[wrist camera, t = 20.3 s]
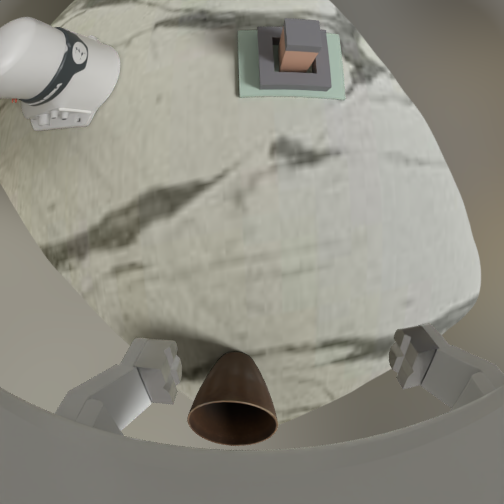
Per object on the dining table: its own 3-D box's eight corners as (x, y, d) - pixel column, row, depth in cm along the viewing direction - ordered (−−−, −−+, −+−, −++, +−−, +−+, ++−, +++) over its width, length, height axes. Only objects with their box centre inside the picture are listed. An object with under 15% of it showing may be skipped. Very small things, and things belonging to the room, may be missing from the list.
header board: (240, 97, 36) (238, 92, 32) (237, 32, 32) (236, 22, 28) (343, 100, 35) (351, 95, 32) (337, 36, 31) (344, 27, 28)
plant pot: (281, 343, 50) (289, 407, 35) (264, 391, 55) (266, 449, 40) (205, 330, 50) (189, 392, 35) (198, 380, 55) (186, 438, 40)
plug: (279, 71, 33) (287, 44, 23) (277, 49, 32) (284, 18, 22) (305, 72, 33) (322, 47, 23) (303, 50, 32) (318, 20, 22)
